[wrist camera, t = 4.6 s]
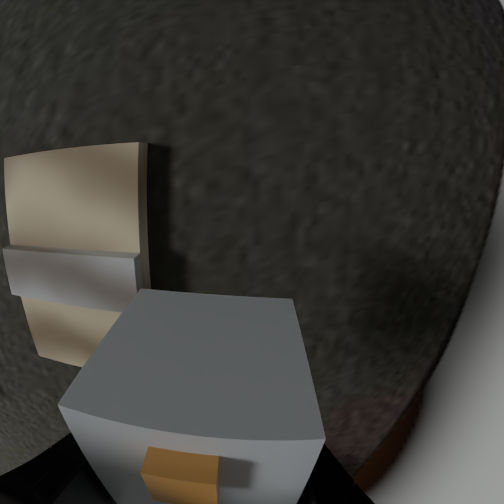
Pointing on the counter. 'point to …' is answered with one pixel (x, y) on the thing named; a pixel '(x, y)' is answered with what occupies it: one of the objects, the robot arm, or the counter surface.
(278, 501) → the block
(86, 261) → the board
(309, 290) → the counter surface
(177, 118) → the counter surface
